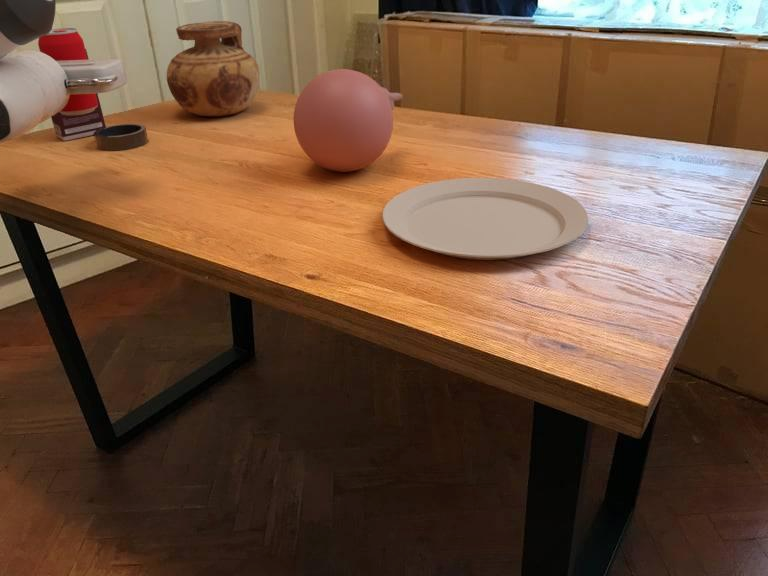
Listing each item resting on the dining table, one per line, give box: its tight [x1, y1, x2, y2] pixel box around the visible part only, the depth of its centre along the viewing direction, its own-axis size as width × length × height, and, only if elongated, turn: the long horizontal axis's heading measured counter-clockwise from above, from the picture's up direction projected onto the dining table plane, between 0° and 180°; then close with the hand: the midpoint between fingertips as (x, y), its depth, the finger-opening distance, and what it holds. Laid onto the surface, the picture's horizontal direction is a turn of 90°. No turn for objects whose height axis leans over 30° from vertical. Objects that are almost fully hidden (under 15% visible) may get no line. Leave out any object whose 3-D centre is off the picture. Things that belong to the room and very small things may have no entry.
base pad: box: [92, 123, 149, 152], centre depth 123 cm, size 9×9×2 cm
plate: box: [382, 177, 590, 261], centre depth 84 cm, size 26×26×2 cm
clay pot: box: [166, 20, 261, 118], centre depth 138 cm, size 19×19×20 cm
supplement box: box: [50, 48, 107, 142], centre depth 126 cm, size 9×5×16 cm, turn 130°
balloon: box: [293, 68, 404, 173], centre depth 103 cm, size 15×20×15 cm
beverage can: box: [37, 27, 98, 115], centre depth 100 cm, size 6×6×12 cm
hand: (69, 67), depth 101 cm, fingers closed on beverage can, 6 cm apart
